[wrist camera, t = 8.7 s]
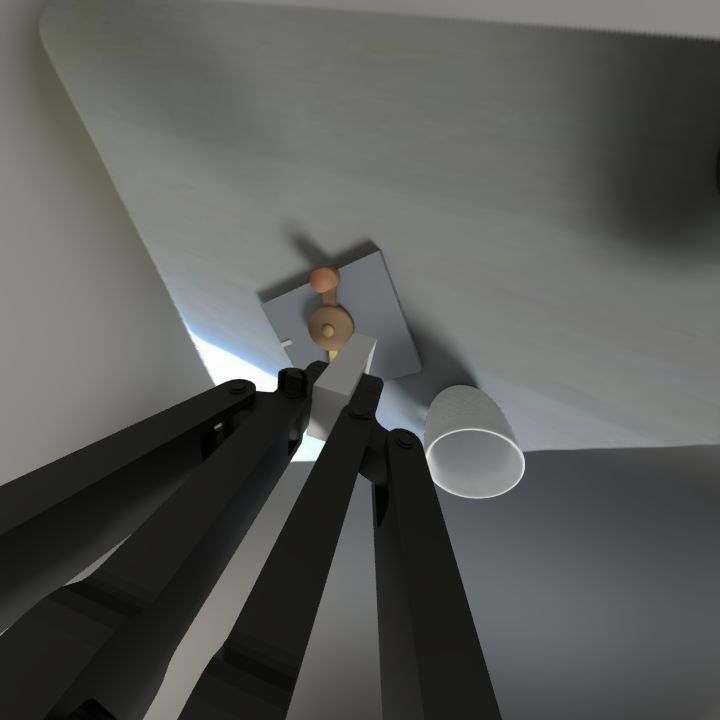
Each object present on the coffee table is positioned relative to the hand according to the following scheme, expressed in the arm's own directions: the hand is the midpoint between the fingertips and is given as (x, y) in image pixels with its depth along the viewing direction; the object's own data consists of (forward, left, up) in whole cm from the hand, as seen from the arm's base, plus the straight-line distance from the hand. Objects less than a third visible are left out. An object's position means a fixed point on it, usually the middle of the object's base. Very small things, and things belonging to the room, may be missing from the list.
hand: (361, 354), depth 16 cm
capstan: (+10, +1, -20) cm, 23 cm away
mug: (-3, +21, -23) cm, 31 cm away
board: (+10, +3, -22) cm, 25 cm away
